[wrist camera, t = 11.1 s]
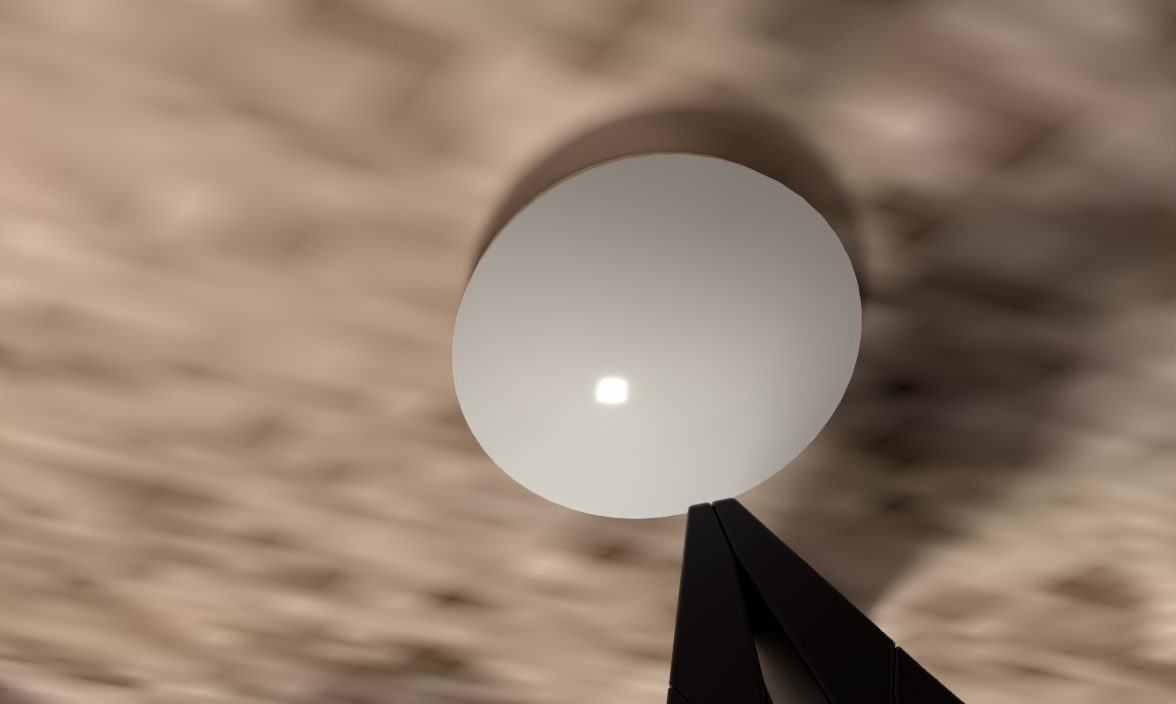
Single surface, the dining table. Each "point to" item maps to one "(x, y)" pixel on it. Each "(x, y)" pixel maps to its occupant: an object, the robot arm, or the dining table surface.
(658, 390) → the white round plate
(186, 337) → the dining table surface
